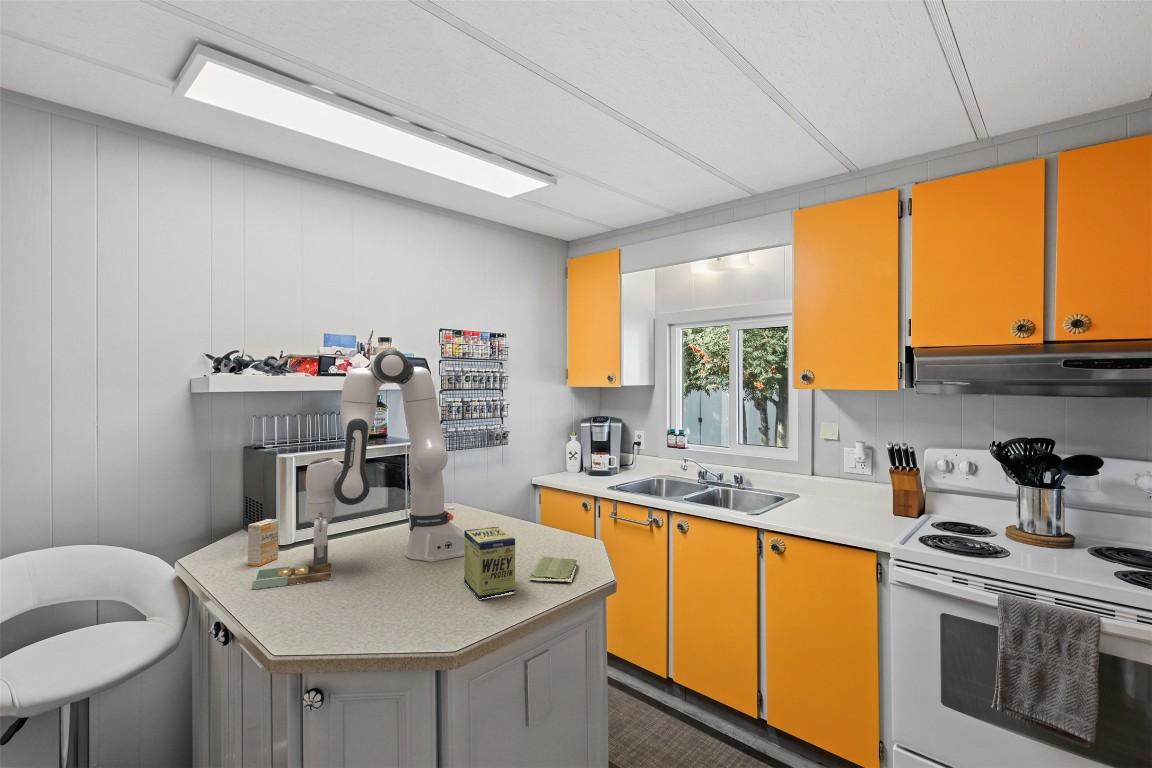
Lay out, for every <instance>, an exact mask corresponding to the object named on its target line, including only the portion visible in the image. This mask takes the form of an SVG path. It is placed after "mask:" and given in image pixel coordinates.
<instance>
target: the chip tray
mask: <svg viewBox="0 0 1152 768" xmlns="http://www.w3.org/2000/svg"><path fill="white" fill-rule="evenodd" d="M285 568H291V566H290V565H287V566H281V567H279V566H277V567H270V568H262V569H260V568H259V569H257V570H256V573H255V576H254V579H253V580H252V582H253V585H252V586H253V589H255V590H260V589H259V588H263V589H269V588H268V587H271V588H277V587H276V586H279V587H285V585H287V578H288V576H285V577H278V571H279V570H280V569H285ZM266 577H267V578H266ZM287 586H288V585H287Z"/></svg>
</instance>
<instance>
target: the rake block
mask: <svg viewBox="0 0 1152 768" xmlns="http://www.w3.org/2000/svg"><path fill="white" fill-rule="evenodd" d="M328 543H329V535H328V534H327V545H326V546H324V556H323V557H317V547H314V546H313V565H317V564H326V563H329V562H328V561H329V549H328V547H329V544H328Z"/></svg>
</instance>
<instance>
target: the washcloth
mask: <svg viewBox="0 0 1152 768" xmlns="http://www.w3.org/2000/svg"><path fill="white" fill-rule="evenodd" d="M576 562H577V563H578V560H577V559H575V558H564V557H561V558H559V557H554V556H552V557H551V556H541V557H540V559H539V561H538V563H537V564H536V566H535V567H534V569H533V570H532V571H531V573H530V575H529V578H545V579H550V578H551V579H569V578H571V575H572V572H573V570H574V568H575V566H576V567H577V563H576Z"/></svg>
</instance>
